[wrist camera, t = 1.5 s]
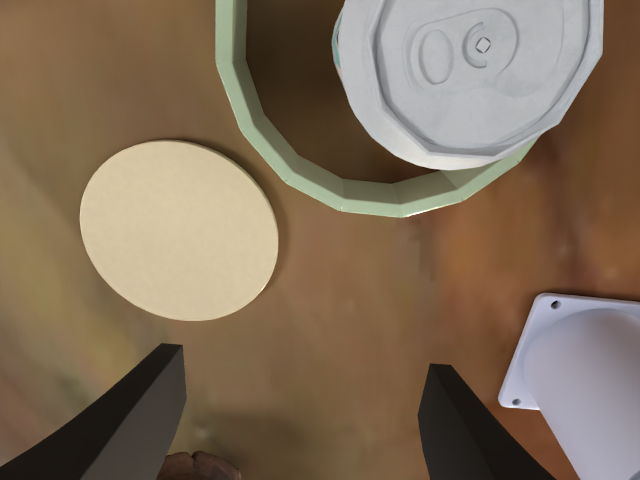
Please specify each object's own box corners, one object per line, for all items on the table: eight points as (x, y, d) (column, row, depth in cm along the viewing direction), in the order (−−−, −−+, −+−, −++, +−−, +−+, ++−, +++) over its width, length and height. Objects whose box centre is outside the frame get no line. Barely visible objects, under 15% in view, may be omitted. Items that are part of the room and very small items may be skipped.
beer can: (451, 88, 19) (629, 150, 8) (345, 115, 19) (371, 209, 8) (436, -37, 17) (646, -192, 6) (319, -3, 17) (307, -83, 6)
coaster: (285, 151, 20) (284, 153, 19) (272, 325, 24) (272, 329, 24) (70, 127, 20) (65, 129, 19) (95, 307, 24) (92, 312, 23)
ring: (599, -133, 15) (657, -172, 13) (496, 206, 21) (522, 231, 18) (235, -182, 15) (215, -233, 12) (229, 178, 20) (214, 198, 18)
